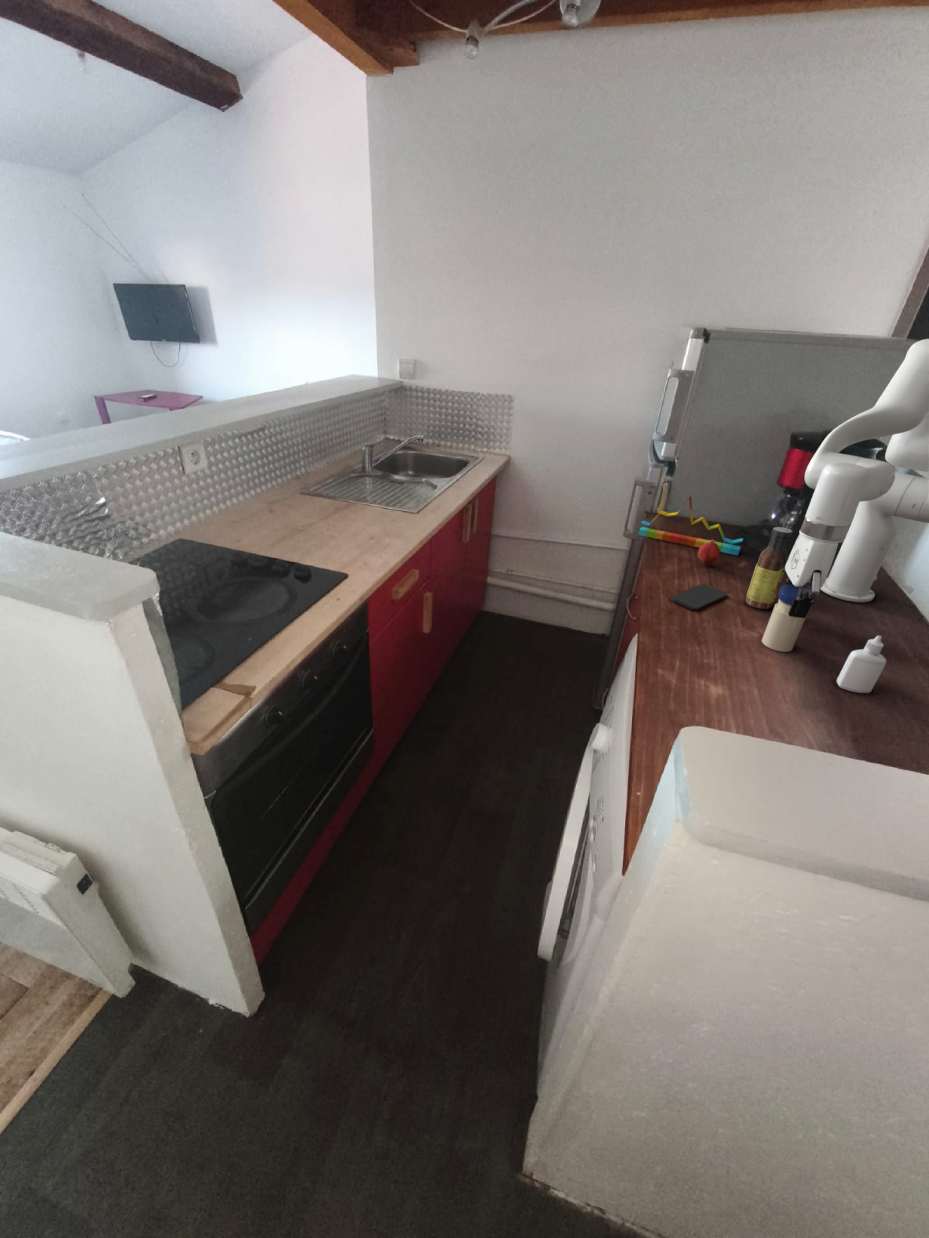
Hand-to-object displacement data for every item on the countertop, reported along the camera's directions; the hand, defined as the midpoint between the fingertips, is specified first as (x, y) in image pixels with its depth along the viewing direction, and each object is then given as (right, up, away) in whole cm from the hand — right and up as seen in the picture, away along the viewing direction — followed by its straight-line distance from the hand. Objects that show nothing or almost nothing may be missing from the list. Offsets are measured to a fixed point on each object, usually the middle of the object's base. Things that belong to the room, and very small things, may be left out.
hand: (792, 607), depth 109 cm
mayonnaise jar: (0, -8, +5) cm, 9 cm away
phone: (-10, +3, +22) cm, 25 cm away
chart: (+2, +22, +55) cm, 60 cm away
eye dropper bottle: (+6, -16, -8) cm, 19 cm away
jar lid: (0, +3, -2) cm, 3 cm away
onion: (+1, +13, +41) cm, 43 cm away
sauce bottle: (+4, +1, +21) cm, 21 cm away
